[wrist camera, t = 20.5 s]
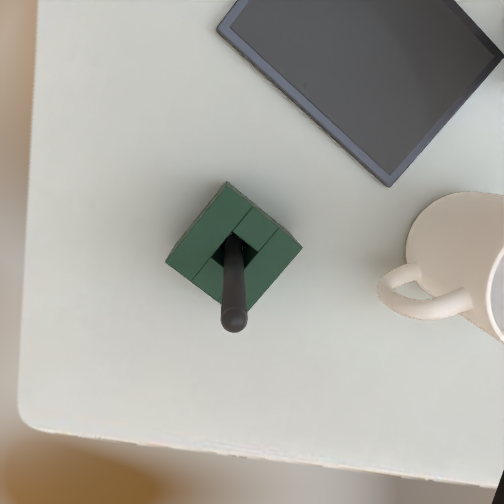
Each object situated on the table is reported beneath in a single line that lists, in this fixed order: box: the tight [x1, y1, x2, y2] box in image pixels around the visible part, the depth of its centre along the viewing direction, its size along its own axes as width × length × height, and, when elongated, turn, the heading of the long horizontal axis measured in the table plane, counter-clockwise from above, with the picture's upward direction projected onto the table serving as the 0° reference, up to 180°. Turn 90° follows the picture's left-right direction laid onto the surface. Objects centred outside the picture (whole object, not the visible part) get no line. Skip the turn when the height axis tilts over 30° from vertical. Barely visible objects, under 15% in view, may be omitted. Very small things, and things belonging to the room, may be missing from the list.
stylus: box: [221, 236, 248, 333], centre depth 27 cm, size 1×1×14 cm
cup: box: [377, 192, 504, 344], centre depth 29 cm, size 9×14×12 cm
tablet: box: [216, 0, 504, 187], centre depth 30 cm, size 18×13×1 cm
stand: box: [165, 182, 303, 312], centre depth 31 cm, size 7×7×5 cm
